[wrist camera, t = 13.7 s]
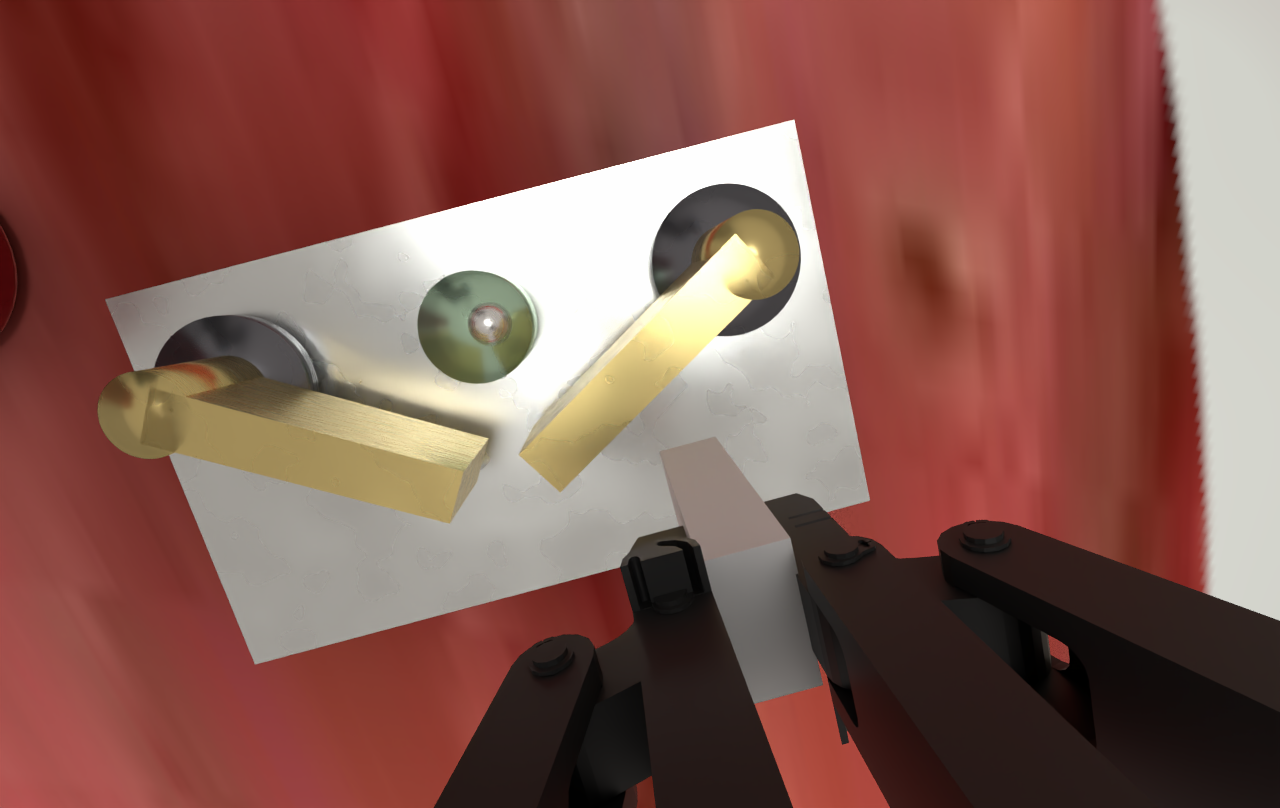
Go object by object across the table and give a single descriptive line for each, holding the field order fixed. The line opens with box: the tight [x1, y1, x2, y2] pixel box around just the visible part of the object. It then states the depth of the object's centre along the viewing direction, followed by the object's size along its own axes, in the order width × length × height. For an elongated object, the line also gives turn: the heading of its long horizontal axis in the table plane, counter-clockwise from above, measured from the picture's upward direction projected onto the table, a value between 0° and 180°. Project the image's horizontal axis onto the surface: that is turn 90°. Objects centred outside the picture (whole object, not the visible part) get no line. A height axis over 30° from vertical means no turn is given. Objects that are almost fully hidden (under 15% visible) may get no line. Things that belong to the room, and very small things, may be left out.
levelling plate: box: [105, 120, 870, 664], centre depth 23 cm, size 14×24×5 cm, turn 105°
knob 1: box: [98, 315, 488, 524], centre depth 20 cm, size 11×5×5 cm, turn 74°
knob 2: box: [519, 183, 801, 492], centre depth 20 cm, size 11×5×5 cm, turn 135°
